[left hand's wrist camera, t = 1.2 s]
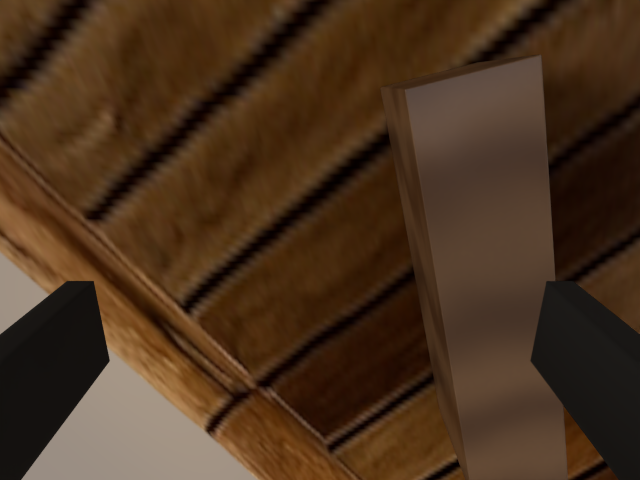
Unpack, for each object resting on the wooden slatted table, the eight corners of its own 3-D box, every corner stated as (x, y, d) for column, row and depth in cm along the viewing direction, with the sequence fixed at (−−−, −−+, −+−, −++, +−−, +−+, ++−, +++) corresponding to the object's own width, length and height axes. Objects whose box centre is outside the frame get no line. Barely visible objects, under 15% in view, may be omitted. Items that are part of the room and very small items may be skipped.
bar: (380, 87, 26) (404, 89, 19) (477, 62, 26) (542, 54, 18) (439, 410, 34) (472, 499, 27) (514, 396, 34) (568, 482, 27)
